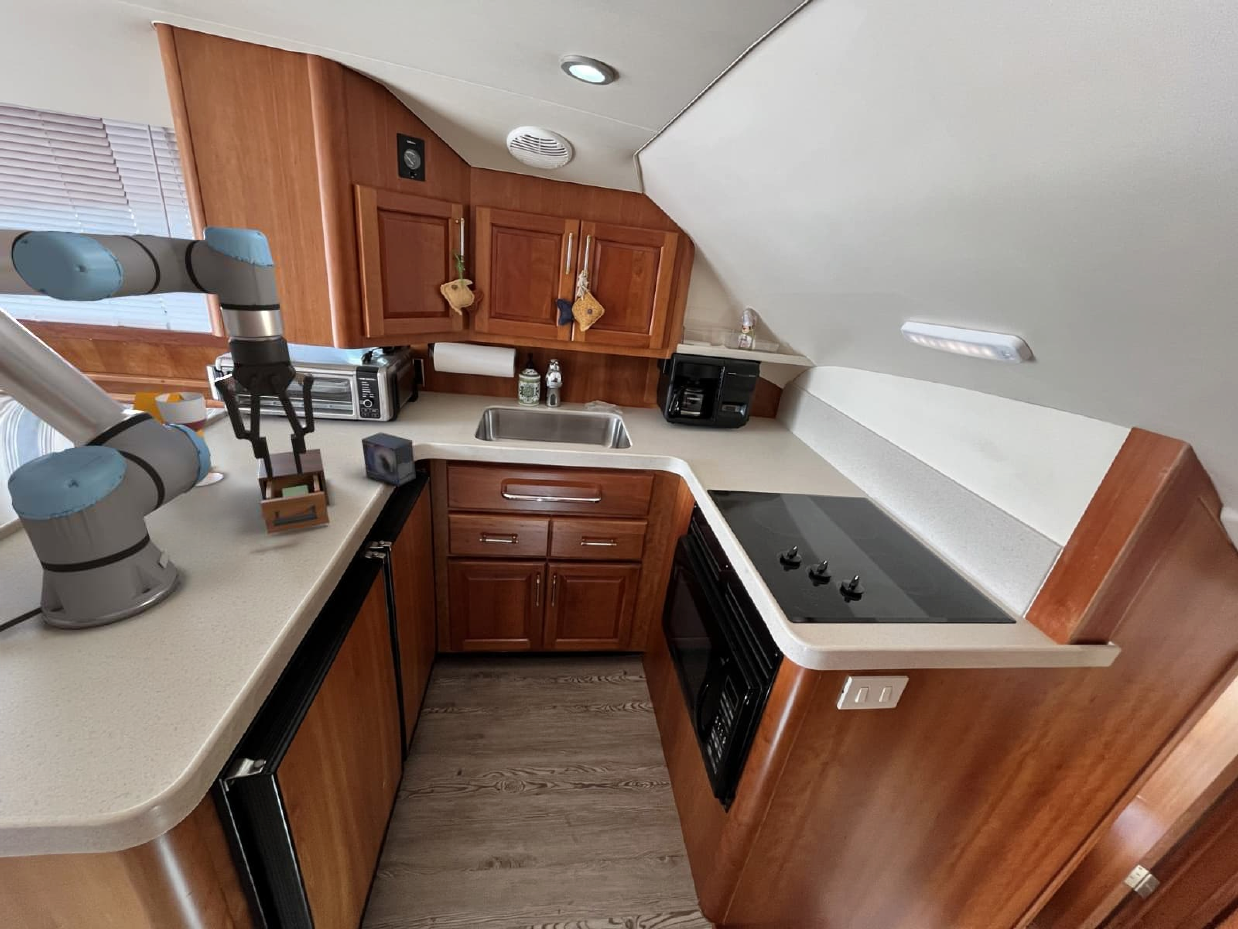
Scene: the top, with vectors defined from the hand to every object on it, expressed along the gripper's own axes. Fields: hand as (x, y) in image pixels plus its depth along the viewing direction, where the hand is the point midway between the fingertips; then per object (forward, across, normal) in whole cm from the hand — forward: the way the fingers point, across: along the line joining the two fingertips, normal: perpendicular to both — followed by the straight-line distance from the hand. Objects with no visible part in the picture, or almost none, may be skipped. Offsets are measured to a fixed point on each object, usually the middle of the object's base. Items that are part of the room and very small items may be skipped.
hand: (285, 472), depth 86 cm
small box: (+17, -20, -28) cm, 38 cm away
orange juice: (+17, +23, -48) cm, 56 cm away
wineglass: (+17, +19, -43) cm, 50 cm away
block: (+15, 0, -14) cm, 20 cm away
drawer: (+16, 0, -12) cm, 20 cm away
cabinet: (+17, 0, -25) cm, 30 cm away
